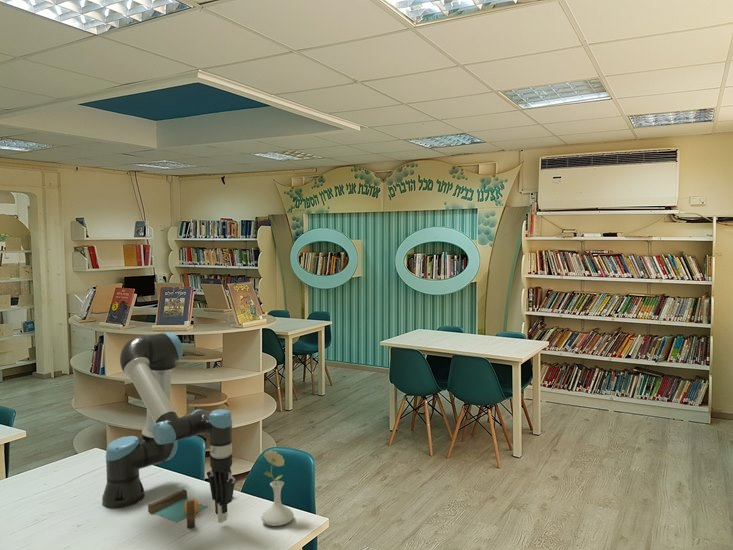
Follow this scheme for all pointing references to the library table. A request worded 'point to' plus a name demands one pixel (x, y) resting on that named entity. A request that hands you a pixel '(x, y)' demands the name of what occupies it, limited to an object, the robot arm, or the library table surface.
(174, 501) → the stopper wall
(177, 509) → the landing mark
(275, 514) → the flower in vase
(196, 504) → the ball
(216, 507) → the post
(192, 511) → the post
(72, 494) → the library table surface
